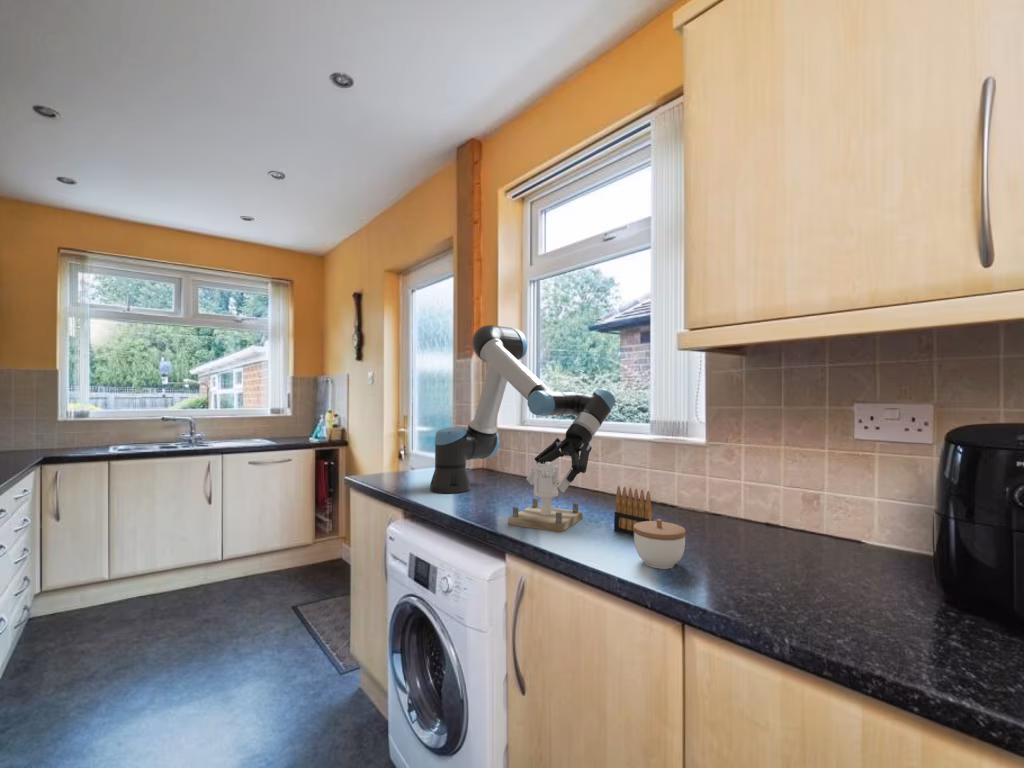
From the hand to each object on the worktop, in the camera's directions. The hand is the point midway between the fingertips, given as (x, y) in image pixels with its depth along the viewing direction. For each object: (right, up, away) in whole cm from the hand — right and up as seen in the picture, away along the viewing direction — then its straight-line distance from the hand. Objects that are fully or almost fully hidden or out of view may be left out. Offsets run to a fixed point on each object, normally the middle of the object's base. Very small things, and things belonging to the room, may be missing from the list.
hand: (544, 485), depth 134 cm
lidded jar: (+22, -10, -34) cm, 41 cm away
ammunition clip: (+22, -10, -12) cm, 27 cm away
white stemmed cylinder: (+1, -8, +1) cm, 8 cm away
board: (+1, -10, 0) cm, 10 cm away
